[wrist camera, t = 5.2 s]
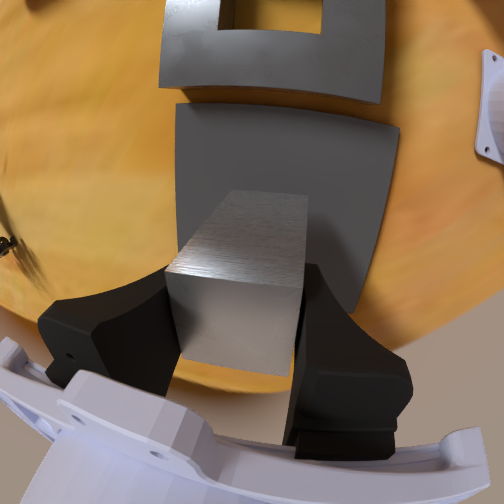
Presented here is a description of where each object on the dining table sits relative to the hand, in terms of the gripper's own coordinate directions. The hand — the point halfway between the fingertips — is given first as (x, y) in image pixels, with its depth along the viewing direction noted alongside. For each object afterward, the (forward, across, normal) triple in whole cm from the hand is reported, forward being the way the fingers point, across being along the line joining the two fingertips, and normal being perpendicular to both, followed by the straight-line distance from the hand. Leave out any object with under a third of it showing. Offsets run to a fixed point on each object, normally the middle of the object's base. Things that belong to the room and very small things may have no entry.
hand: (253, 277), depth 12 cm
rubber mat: (+8, 0, 0) cm, 8 cm away
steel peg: (+4, 0, 0) cm, 4 cm away
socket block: (+8, 0, -14) cm, 16 cm away
